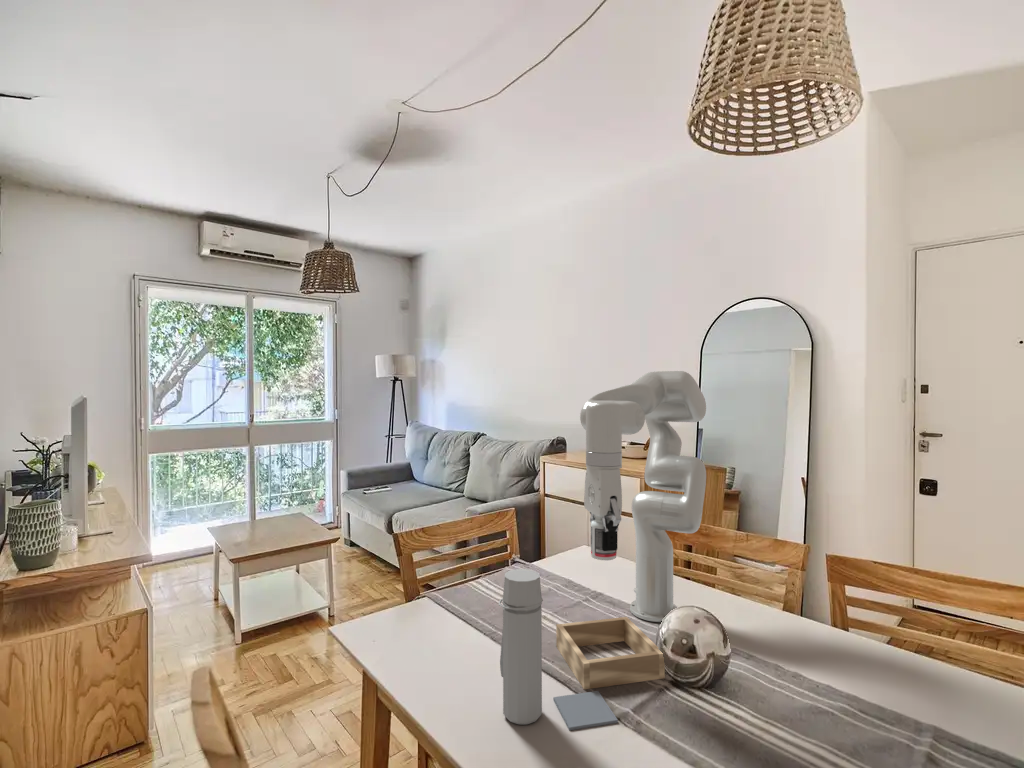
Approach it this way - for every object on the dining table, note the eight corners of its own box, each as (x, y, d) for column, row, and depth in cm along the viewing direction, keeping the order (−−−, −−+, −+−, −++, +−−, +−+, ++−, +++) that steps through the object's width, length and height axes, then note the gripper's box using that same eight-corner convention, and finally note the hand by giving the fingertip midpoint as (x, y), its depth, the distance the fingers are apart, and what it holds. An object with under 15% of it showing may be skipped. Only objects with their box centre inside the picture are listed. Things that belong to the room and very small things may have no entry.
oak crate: (556, 646, 117) (556, 624, 117) (626, 638, 121) (626, 616, 121) (583, 689, 100) (583, 663, 100) (664, 678, 104) (664, 653, 104)
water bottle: (552, 713, 93) (551, 574, 93) (521, 734, 87) (521, 586, 88) (516, 692, 99) (515, 562, 100) (485, 710, 94) (485, 573, 94)
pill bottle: (622, 558, 108) (622, 511, 108) (603, 562, 105) (603, 514, 105) (604, 551, 112) (604, 506, 113) (585, 555, 109) (585, 509, 110)
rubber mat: (553, 699, 97) (553, 697, 97) (598, 693, 99) (598, 690, 99) (569, 730, 88) (569, 727, 88) (617, 722, 90) (617, 719, 90)
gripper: (573, 455, 117) (573, 536, 116) (603, 466, 100) (603, 560, 100) (604, 455, 118) (604, 534, 118) (638, 465, 102) (638, 557, 101)
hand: (603, 545), depth 109 cm, fingers closed on pill bottle, 5 cm apart
